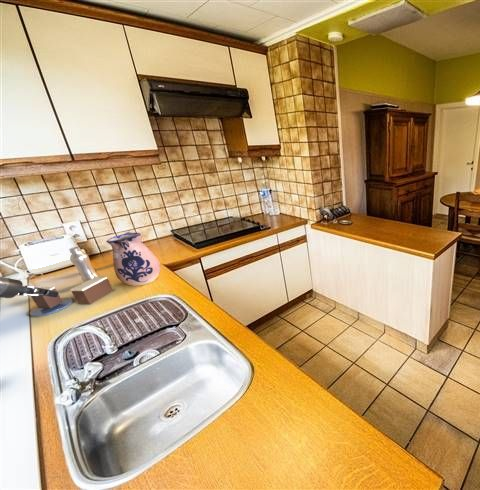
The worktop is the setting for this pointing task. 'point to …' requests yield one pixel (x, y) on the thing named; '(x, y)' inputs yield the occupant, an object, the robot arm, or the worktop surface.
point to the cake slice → (47, 299)
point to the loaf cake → (91, 290)
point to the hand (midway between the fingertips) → (50, 294)
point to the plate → (46, 311)
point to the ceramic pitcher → (133, 260)
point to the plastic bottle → (82, 264)
